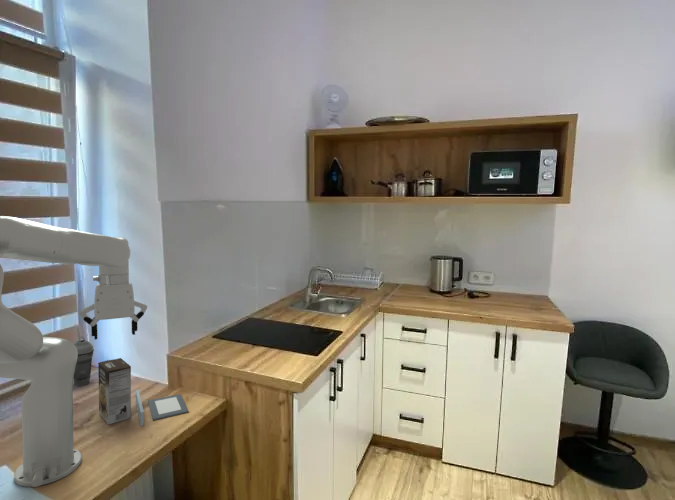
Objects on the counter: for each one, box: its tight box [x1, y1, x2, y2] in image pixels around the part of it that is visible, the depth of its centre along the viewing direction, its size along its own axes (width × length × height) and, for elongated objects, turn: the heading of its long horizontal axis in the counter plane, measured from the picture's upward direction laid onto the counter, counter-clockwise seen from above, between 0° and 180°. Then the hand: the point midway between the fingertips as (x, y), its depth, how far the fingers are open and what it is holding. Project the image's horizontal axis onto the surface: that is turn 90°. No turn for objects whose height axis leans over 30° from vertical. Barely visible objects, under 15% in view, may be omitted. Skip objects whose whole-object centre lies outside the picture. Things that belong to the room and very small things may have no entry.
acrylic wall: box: [135, 389, 145, 427], centre depth 114 cm, size 16×1×4 cm, turn 33°
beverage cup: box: [73, 328, 95, 387], centre depth 132 cm, size 7×7×20 cm
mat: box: [147, 393, 189, 421], centre depth 119 cm, size 13×10×1 cm
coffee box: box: [98, 357, 132, 425], centre depth 112 cm, size 9×6×16 cm
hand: (115, 335), depth 111 cm, fingers open, 9 cm apart
